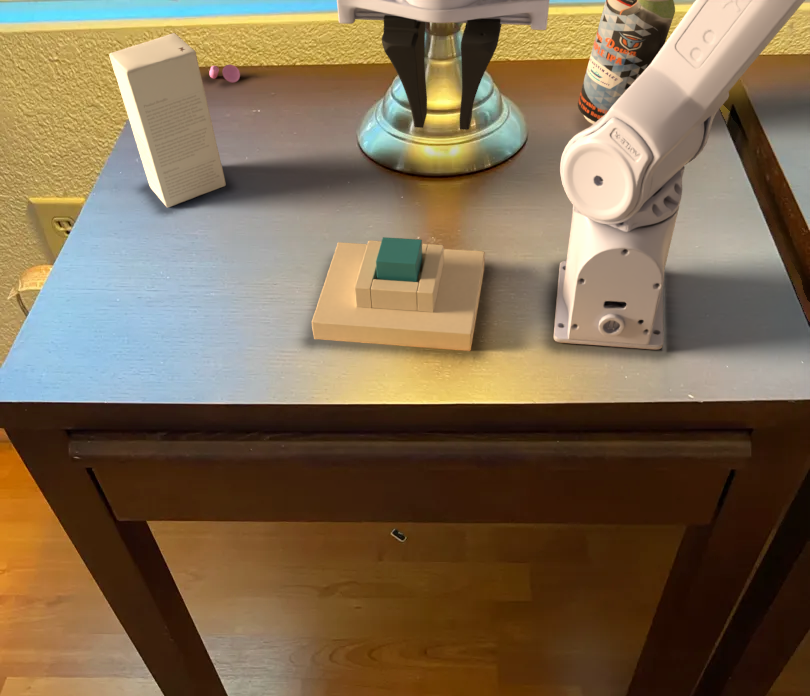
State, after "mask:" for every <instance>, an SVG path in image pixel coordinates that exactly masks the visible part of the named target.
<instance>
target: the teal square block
mask: <svg viewBox="0 0 810 696" xmlns="http://www.w3.org/2000/svg"><path fill="white" fill-rule="evenodd" d="M381 241H382V242H381V245H380V249H379V252H378V256H377V260H376V269H377V280H392V281H407V282H417V280H418V275H419V271H420V267H421V263H422V244H423V239H420V238H419V239H417V238H403V237H402V238H401V237H387V236H382V239H381Z"/></svg>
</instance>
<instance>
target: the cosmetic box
mask: <svg viewBox="0 0 810 696" xmlns="http://www.w3.org/2000/svg"><path fill="white" fill-rule="evenodd" d="M109 59H110V62H111V66H112V69H113V72H114V76H115V79H116V82H117V85H118V89H119V91H120V94H121V98H122V101H123V105H124V107H125V111H126V114H127V117H128V120H129V123H130V124H129V125H130V126H131V130H132V133H133V134H132V135H133V136H134V140H135V144H136V147H137V150H138V153H139V156H140V160H141V163H142V167H143V169H144V172H145V175H146V178H147V182H148V185H149V188H150V189H151V190H152V192H153V193H154V194H155V195H156V196H157V198H158V199H159V200H160V201H161V202H162V203H163V205H164V206H165V207H166V208H171V207H173V206H176V205H179V204H181V203H184V202H186V201H189V200H192V199H194V198H196V197H200V196H202V195H206V194H207V193H211V192H213V191H215V190H218V189H220V188H224V187H226V185H227V183H226V178H225V173H224V170H223V166H222V161H221V157H220V152H219V148H218V145H217V139H216V136H215V135H216V134H215V130H214V126H213V121H212V117H211V113H210V108H209V104H208V100H207V95H206V91H205V86H204V83H203V82H204V81H203V78H202V74H201V70H200V65H199V62H198V55H197V51H196V50H194V49H193V48H192V47H191V46H190V45H189V44H188V43H187V42H185V40H184V39H182V38H181V37H180V36H179V35H178V34H176V33H175V32H172V33H170V34H169V33H168V34H167V35H163V36H161V37H157V38H154V39H151V40H148V41H144V42H142V43H138V44H135V45H132V46H129V47H128V46H127V47H125V48H123V49H119V50H116V51H113V52H110V53H109Z"/></svg>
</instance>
